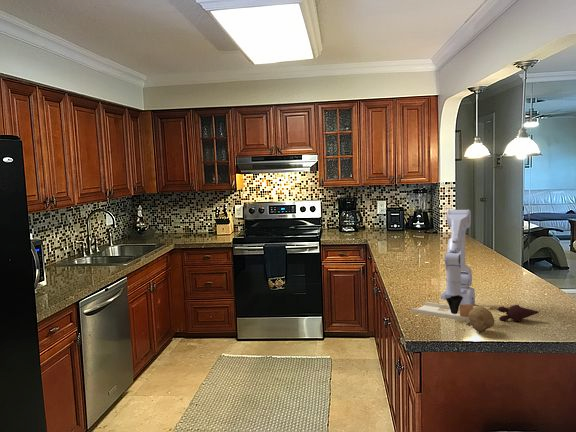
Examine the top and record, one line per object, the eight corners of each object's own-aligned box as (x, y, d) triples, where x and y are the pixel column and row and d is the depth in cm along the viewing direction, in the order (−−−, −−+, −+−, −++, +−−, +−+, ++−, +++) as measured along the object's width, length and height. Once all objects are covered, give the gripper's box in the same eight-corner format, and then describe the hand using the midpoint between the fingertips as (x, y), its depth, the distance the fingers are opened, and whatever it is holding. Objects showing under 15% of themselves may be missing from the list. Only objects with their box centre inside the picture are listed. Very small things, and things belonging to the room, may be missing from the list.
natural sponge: (488, 327, 188) (487, 302, 187) (498, 335, 180) (498, 309, 179) (465, 329, 188) (464, 304, 187) (474, 336, 179) (474, 310, 178)
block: (472, 314, 200) (472, 304, 200) (473, 318, 196) (473, 307, 195) (459, 314, 202) (459, 303, 201) (460, 318, 197) (460, 307, 196)
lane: (483, 317, 201) (483, 309, 201) (472, 325, 191) (471, 317, 191) (425, 307, 218) (424, 300, 218) (411, 315, 208) (411, 307, 208)
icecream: (535, 302, 196) (496, 305, 200) (539, 303, 189) (498, 305, 193) (538, 320, 195) (498, 322, 199) (542, 321, 188) (500, 323, 192)
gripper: (456, 276, 206) (457, 307, 207) (434, 282, 198) (434, 314, 199) (471, 279, 200) (471, 311, 201) (448, 285, 192) (449, 318, 193)
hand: (454, 313), depth 200 cm, fingers closed
